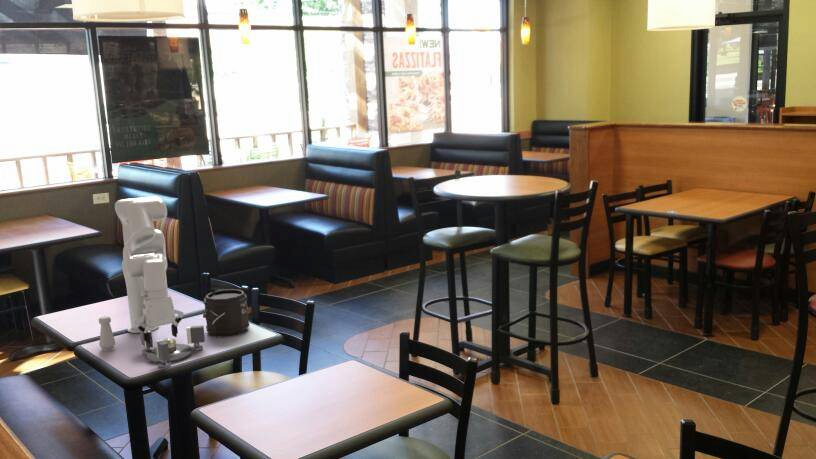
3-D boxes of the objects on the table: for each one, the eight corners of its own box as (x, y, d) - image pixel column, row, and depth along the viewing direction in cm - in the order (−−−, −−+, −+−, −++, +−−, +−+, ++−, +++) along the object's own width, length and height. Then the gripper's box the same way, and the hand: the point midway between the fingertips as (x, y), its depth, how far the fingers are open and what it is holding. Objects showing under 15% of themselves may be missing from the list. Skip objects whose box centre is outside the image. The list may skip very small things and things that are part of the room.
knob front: (163, 365, 262) (161, 344, 260) (157, 361, 266) (155, 340, 265) (170, 364, 263) (168, 343, 262) (164, 359, 268) (162, 339, 266)
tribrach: (143, 351, 282) (141, 334, 281) (204, 346, 284) (202, 330, 283) (130, 370, 262) (128, 353, 260) (195, 365, 264) (193, 348, 263)
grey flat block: (148, 347, 282) (146, 327, 281) (153, 351, 277) (151, 331, 276) (141, 348, 281) (139, 329, 279) (146, 352, 276) (144, 333, 275)
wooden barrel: (203, 327, 308) (200, 291, 306) (247, 322, 314) (244, 286, 311) (205, 340, 292) (202, 302, 289) (251, 334, 297) (248, 296, 294)
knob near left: (204, 346, 280) (202, 327, 279) (188, 347, 280) (186, 328, 278) (205, 344, 283) (203, 325, 281) (189, 345, 282) (187, 326, 281)
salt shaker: (110, 352, 283) (106, 319, 280) (96, 351, 284) (93, 319, 281) (119, 346, 288) (115, 315, 286) (106, 346, 289) (102, 314, 287)
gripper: (135, 300, 252) (140, 347, 256) (184, 290, 262) (188, 336, 266) (128, 295, 258) (133, 342, 262) (176, 286, 268) (181, 331, 272)
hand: (161, 339), depth 264 cm, fingers open, 9 cm apart
